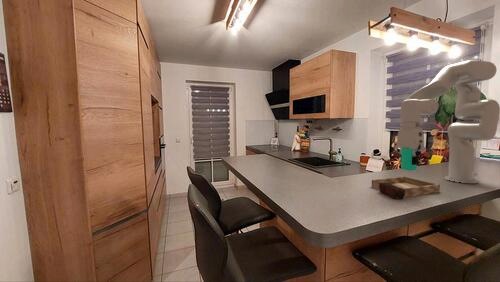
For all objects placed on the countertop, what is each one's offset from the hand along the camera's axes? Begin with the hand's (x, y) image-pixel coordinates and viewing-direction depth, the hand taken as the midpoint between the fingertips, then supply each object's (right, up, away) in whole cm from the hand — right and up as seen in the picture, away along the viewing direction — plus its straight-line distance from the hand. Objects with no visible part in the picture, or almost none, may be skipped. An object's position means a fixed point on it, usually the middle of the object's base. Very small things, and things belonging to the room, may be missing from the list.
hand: (408, 163), depth 101 cm
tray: (-2, -12, 0) cm, 13 cm away
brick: (-14, -14, -8) cm, 21 cm away
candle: (0, -3, 0) cm, 3 cm away
